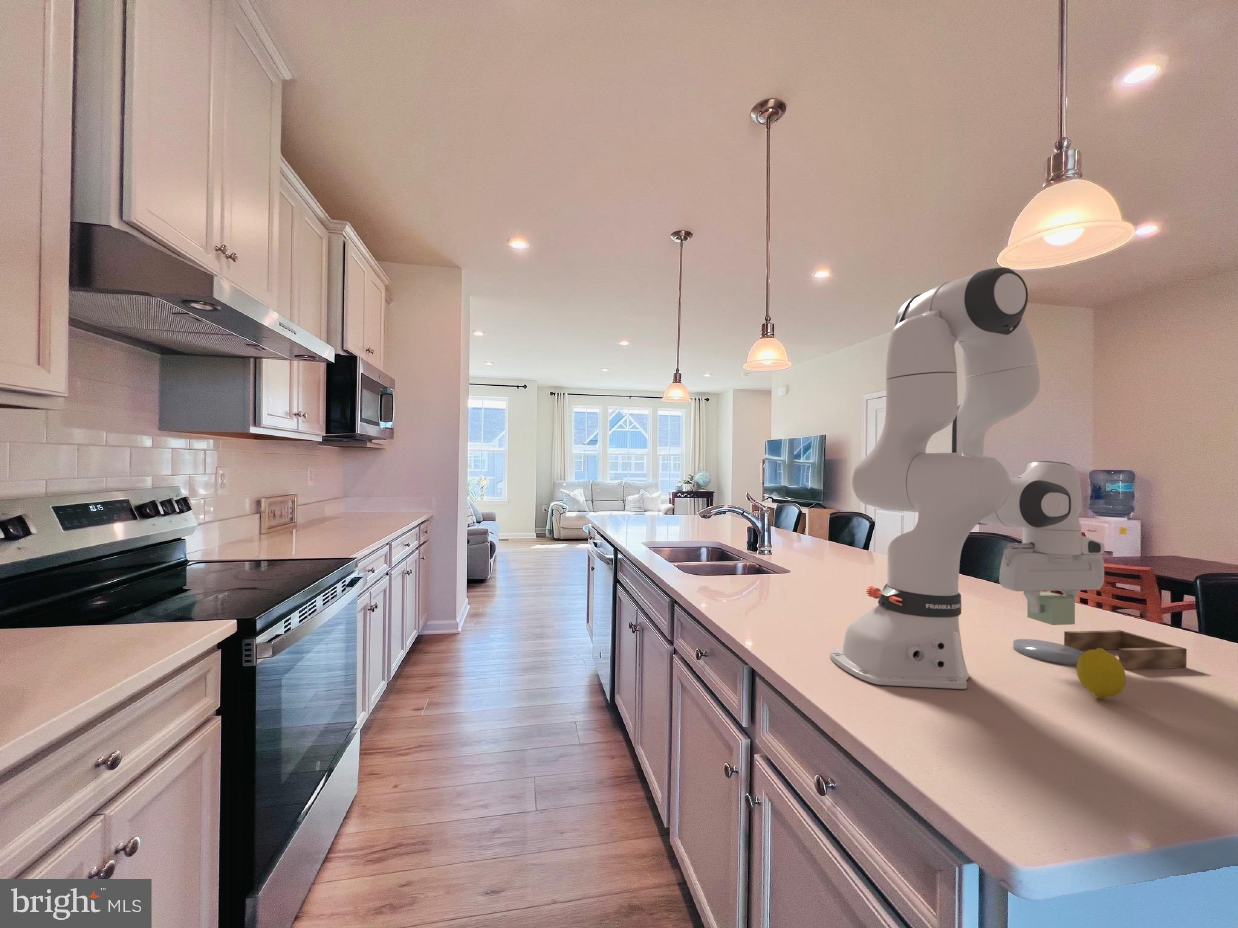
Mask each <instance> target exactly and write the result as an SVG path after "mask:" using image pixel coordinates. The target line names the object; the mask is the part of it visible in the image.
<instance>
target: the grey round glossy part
mask: <svg viewBox="0 0 1238 928" xmlns="http://www.w3.org/2000/svg"><path fill="white" fill-rule="evenodd" d="M1012 644H1013V645H1012V646H1013V650H1014V651H1016V652H1017V653H1018V654H1021V655H1023V656H1026V657H1028V658H1031V659H1035V660H1038V661H1042V662H1048V663H1052V664H1058V665H1065V666H1077V663H1078V660H1079V657H1080V656H1081V655H1082V654H1083V653H1084V652H1085V651H1082V650H1077V649H1075V648H1072V647H1069V646H1065V645H1064V644H1061V643H1057V642H1052V641H1048V640H1047V641H1046V640H1041V639H1040V640H1039V639H1034V638H1033V639H1031V638H1018V639H1014V640H1013V643H1012Z"/></svg>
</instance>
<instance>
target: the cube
mask: <svg viewBox="0 0 1238 928" xmlns="http://www.w3.org/2000/svg"><path fill="white" fill-rule="evenodd" d="M1037 597H1038V599H1039V602H1040V604H1043V605H1044V613H1033V612H1031V611H1030V610H1029V602H1028V601H1027V618H1029V619H1032V620H1036V621H1038V622H1041V623H1044V624H1047V625H1052V626H1063V625H1064V626H1066V625H1067V626H1068V625H1070V626H1071V625H1076V624H1075V623H1076V617H1075V616H1076V612H1075V611H1076V600H1075V599H1074V598H1070V597H1066V596H1063V594H1062V595H1061V594H1057V593H1054V592H1051V591H1040V596H1037Z"/></svg>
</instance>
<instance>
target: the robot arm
mask: <svg viewBox="0 0 1238 928" xmlns="http://www.w3.org/2000/svg"><path fill="white" fill-rule="evenodd" d="M1028 290H1029V289H1028V287H1027V284H1026V281H1025V280H1024V278H1023V277H1022V276H1021V275H1020V274H1018V273H1017V271H1014V270H1013V269H1012V268H1009V267H1004V266H1003V267H994V268H992V267H991V268H988V269H983V270H980V271H977V272H976V273H974V274H971V275H968V276H964V277H961V278H958V279H954V280H951V281H946V282H944V283H941V284H940V285H939V284H938V285H937V286H935V287H933V288H930V289H928V290H927V291H925V292H923V293H920V294H919V293H918V294H916V295H915V296H913V297H911V298H910V299H908V300H907V301H906V302H904V304H903V305H901V307H900V308H899V309H898V311H897V313H896V317H895V323H894V324H895V325H894V327H893V328H892V331H891V332H890V336H889V342H888V346H887V352H886V365H885V366H886V367H885V391H886V394H885V397H886V398H885V416H884V417H885V418H884V419H885V420H884V425H883V428H882V430H881V431H882V432H881V434H880V436H879V439H878V441H877V442H876V444H875V446H874V448H873V449H872V450H871V451H870V452H869V453H868V454H867V456H865V457H864V458H862V460H860V461H859V462H858V463H857V465H856V466H855V467H854V470H853V472H852V477H851V484H852V489H853V492H854V494H855V496H856V498H857V500H859V502H861V503H862V504H865V505H868V506H872V507H874V508H878V509H881V510H885V511H895V512H909V513H918V518H917V519H918V520H917V522H916V524H915V526H914V528H913V529H912V530H909V531H906V532H904V533H902V534H900V535H897V536H896V537H895V538H894V539H893V540H892V541H890V543H889V545H888V547H887V565H886V566H887V571H886V572H887V576H886V577H887V578H886V579H887V581H886V583H885V585H884V586H883V589H882V590H881V589H880V588H879V587H875V586H873V585H869V586H868V587H867V588H866V595H867V596H868V597H869V598H873V599H875V600H877V599H878V600H877V603H878V604H877V605H876V606H875V607H873V608H871V609H870V610H869V611H868V612H866V613H865V614H863V615H862V616H860V617H859V618H858V619H857V620H855V621H853V622H852V623H850V624H849V625H848V626H847V628H846V631H845V634H844V639H843V647H840V648H833V649H831V650H830V654H829V657H830V659H831V660H832V662H834V663H835V664H836V665H837V666H838V667H839V668H841V669H842V670H843V671H846V672H847V673H848V674H851V675H853V676H855V677H856V678H858V679H861V680H863V681H865V682H868V683H871V684H875V685H880V686H895V687H896V686H897V687H915V688H917V687H918V688H919V687H920V688H933V689H934V688H935V689H936V688H938V689H939V688H940V689H957V690H966V689H967V688H968V682H967V680H968V679H969V677H970V674H969V672H968V668H967V665H966V660H965V657H964V652H963V645H962V637H961V632H960V631H961V630H960V629H961V628H960V622H959V621H960V619H959V617H960V615H962V594H961V593H960V592H959V579H960V578H959V577H960V575H959V574H960V565H961V563H960V561H961V555H962V550H963V546H964V545H965V544H964V543H966V540H967V538H968V536H969V535H970V533H971V531H972V530H973V529H974V528H975V527H976V526H977V525H979V526H982V525H984V526H986V525H991V526H1001V527H1010V528H1011V527H1012V528H1013V527H1015V528H1021V529H1022V533H1021V534H1022V536H1021V537H1022V538H1021V539H1022V542H1021V543H1018V542H1014V543H1013V542H1012V543H1010V544H1009V545H1008V546H1007V547H1005V548H1004V550H1003V555H1002V557H1001V562H1000V567H999V584H1000V585H1001V587H1002V588H1003V589H1006V590H1009V591H1013V592H1023V595H1024V597H1025V599H1026V600H1027V603H1028V602H1029V610H1030V611H1031V612H1033V613H1044V605H1043V604H1040V602H1039V599H1038V597H1037V596H1040V592H1051V591H1053V592H1054V591H1061V594H1062V596H1066V597H1070V598H1074V599H1075V601H1076V600H1077V598H1078V597H1079V591H1095V590H1096V591H1098V590H1100V589H1101V588H1102V587H1103V585H1104V583H1105V561H1104V558H1103V556H1102V554H1104V552H1105V544H1104V543H1102V542H1101V541H1098V540H1094V539H1092V538H1089V537H1087V536H1084V535H1082V526H1081V524H1080V513H1081V511H1082V505H1083V504H1082V487H1081V481H1080V476H1079V473H1078V469H1077V467H1076V466H1074V465H1072V464H1070V463H1068V462H1067V463H1066V462H1062V461H1061V462H1060V461H1050V460H1037V461H1032V462H1029V463H1027V466H1026V468H1025V471H1024V473H1021V474H1020V475H1017V476H1015V477H1010V475H1009V473H1008V471H1007V469H1006V468H1005V466H1004V465H1003V464H1002V463H1001V462H1000V461H999V460H998V459H997V458H995V457H994V456H993V457H992V456H988V455H984V449H985V448H984V443H985V436H986V434H987V432H988V431H989V430H990V429H991V428H992V427H993V426H995V425H996V424H998V423H1000V422H1002V421H1004V420H1006V419H1008V418H1011V417H1013V416H1015V415H1016V414H1019V413H1021V412H1022V411H1023V410H1025V409H1026V408H1027V407H1028V406H1030V405H1031V404H1032V402H1034V400H1035V399H1036V397H1037V396H1038V393H1039V391H1040V388H1041V387H1040V386H1041V379H1040V378H1041V377H1040V370H1039V364H1038V358H1037V353H1036V349H1035V344H1034V342H1033V339H1032V336H1031V332H1030V330H1029V327H1028V325H1027V323H1026V321H1025V319H1024V317H1023V316H1024V314H1025V311H1026V309H1027V306H1028V299H1029V291H1028ZM956 342H958V345H959V346H960V347H961V348H962V361H963V372H964V381H965V388H964V389H965V391H964V394H963V398H962V401H961V403H960V404H958V402H959V401H958V400H959V399H958V370H957V369H958V367H957V366H958V365H957V355H956V350H955V346H956V345H955V344H956ZM951 424H952V429H951V452H927V453H926V451H927V446H928V443H929V441H930V439H931V438H932V437H933V436H934V434H936V433H939V432H940V431H942V430H944V429H945V428H947V427H948V426H950V425H951Z"/></svg>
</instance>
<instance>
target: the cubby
mask: <svg viewBox="0 0 1238 928" xmlns="http://www.w3.org/2000/svg"><path fill="white" fill-rule="evenodd" d="M1063 632H1064V633H1063V635H1064V636H1063V637H1064V638H1063V639H1064V640H1063V641H1064V642H1063V645H1065V646H1069V647H1072V648H1075V649H1077V650H1080V651H1082V650H1083V651H1088V650H1094V649H1097V648H1102V649H1104V650H1118V660H1119V661H1120V662H1121V664H1122V666H1123V668H1124V671H1127V670H1149V669H1150V670H1152V669H1153V670H1154V669H1173V668H1174V669H1180V668H1181V669H1182V668H1183V669H1184V668H1187V655H1188V654H1187V649H1188V648H1185V647H1181V646H1177V645H1175V644H1170V643H1167V642H1164V641H1160V640H1157V639H1153V638H1151V637H1150V638H1149V637H1145V636H1143V635H1139V634H1135V633H1131V632H1128V631H1125V630H1121V629H1120V630H1117V629H1116V630H1115V629H1114V630H1070V631H1069V630H1068V631H1063Z"/></svg>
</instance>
